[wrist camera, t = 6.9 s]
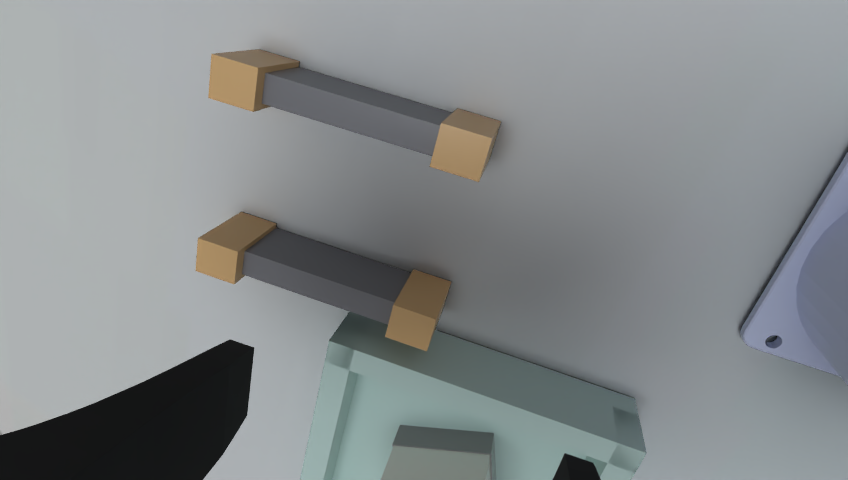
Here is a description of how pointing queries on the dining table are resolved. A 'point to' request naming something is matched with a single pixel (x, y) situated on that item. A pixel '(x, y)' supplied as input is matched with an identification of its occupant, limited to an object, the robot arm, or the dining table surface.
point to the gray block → (441, 455)
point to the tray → (461, 407)
